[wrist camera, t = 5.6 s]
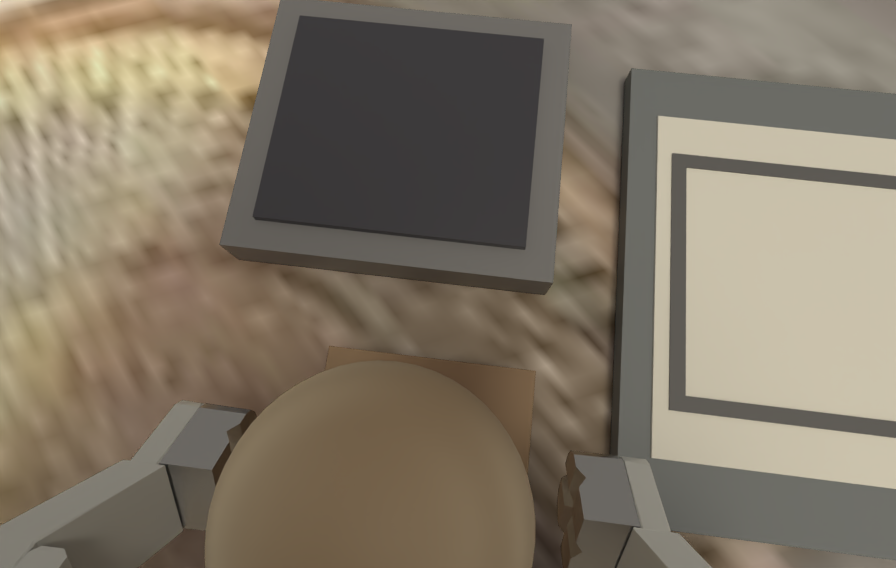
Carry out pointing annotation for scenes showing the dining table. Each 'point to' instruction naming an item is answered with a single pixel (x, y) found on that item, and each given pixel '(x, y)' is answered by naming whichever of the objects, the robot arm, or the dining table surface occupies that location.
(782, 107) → the document board
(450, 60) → the ink pad
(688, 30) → the dining table surface
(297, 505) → the hand stamp
